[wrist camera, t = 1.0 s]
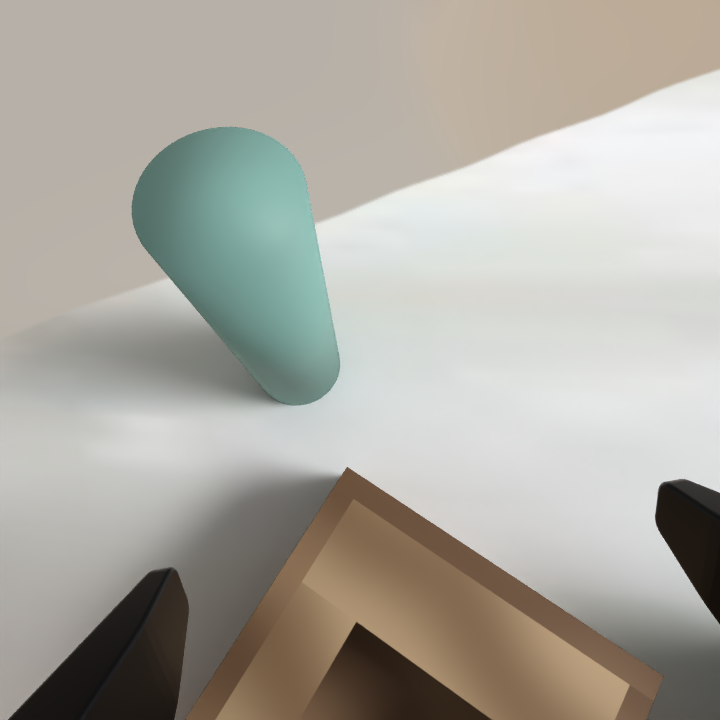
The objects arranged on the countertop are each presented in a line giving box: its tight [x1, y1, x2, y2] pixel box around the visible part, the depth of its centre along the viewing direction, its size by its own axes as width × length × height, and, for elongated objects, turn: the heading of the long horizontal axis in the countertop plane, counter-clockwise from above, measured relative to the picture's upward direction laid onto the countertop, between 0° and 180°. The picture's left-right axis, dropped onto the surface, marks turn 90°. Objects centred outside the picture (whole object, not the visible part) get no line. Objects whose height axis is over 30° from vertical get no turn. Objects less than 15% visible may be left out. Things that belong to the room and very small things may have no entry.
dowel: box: [132, 127, 340, 405], centre depth 17 cm, size 4×4×13 cm
